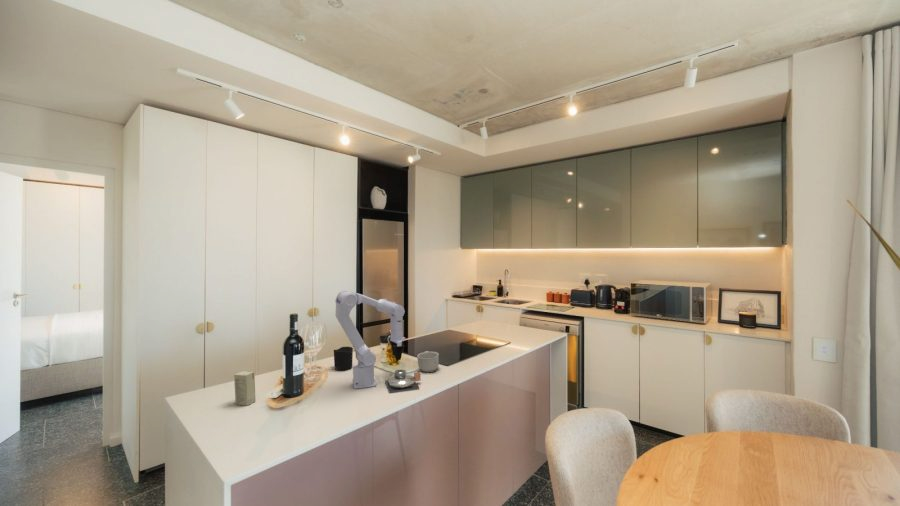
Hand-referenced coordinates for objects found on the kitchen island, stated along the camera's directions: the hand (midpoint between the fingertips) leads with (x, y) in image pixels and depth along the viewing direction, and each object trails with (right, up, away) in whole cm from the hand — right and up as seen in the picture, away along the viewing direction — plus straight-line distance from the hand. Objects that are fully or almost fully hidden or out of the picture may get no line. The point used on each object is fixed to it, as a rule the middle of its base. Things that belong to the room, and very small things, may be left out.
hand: (396, 357), depth 170 cm
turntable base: (+4, -10, -11) cm, 15 cm away
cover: (+3, -7, -7) cm, 10 cm away
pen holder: (-30, -10, +13) cm, 34 cm away
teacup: (+14, -9, +11) cm, 20 cm away
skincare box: (-57, -11, -27) cm, 64 cm away
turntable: (+5, -8, -10) cm, 14 cm away
